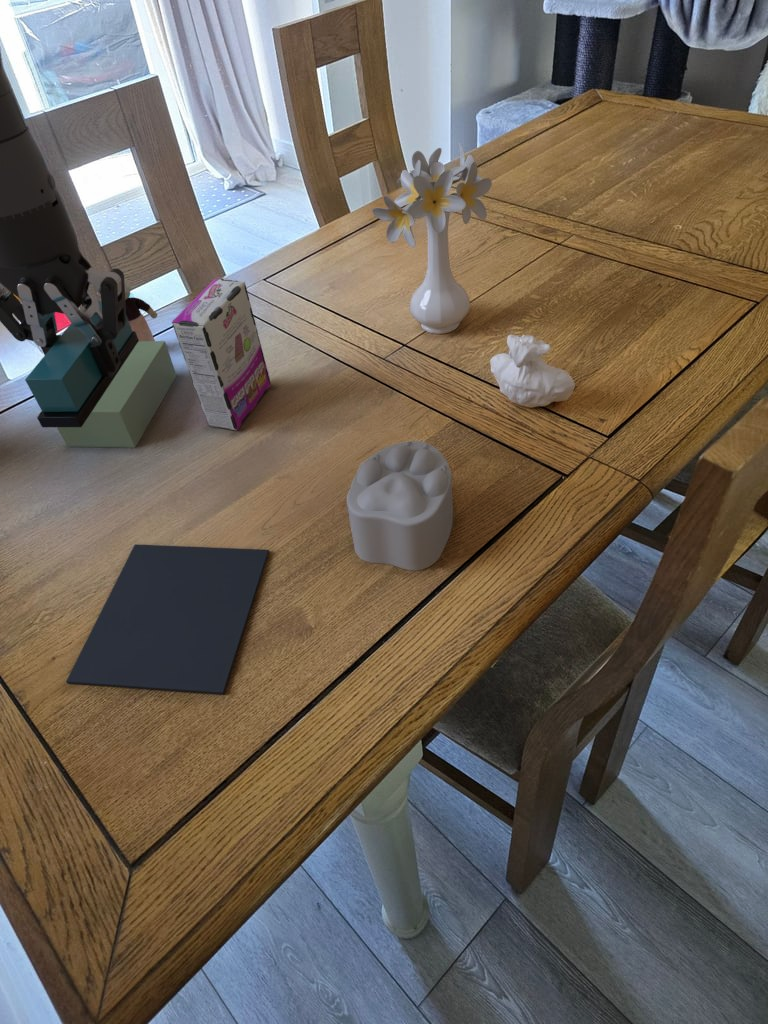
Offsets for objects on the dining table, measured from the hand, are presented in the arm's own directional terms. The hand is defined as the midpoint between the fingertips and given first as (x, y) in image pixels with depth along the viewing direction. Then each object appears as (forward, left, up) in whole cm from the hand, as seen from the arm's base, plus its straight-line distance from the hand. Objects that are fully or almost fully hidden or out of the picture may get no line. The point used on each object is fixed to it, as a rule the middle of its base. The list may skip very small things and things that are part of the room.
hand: (90, 372), depth 69 cm
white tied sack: (+44, +24, -21) cm, 55 cm away
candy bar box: (+4, +22, -21) cm, 31 cm away
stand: (-13, +21, -21) cm, 32 cm away
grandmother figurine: (-16, +36, -21) cm, 45 cm away
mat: (+7, -14, -21) cm, 26 cm away
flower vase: (+31, +43, -21) cm, 57 cm away
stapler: (0, 0, -1) cm, 1 cm away
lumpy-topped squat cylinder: (+30, 0, -21) cm, 37 cm away
